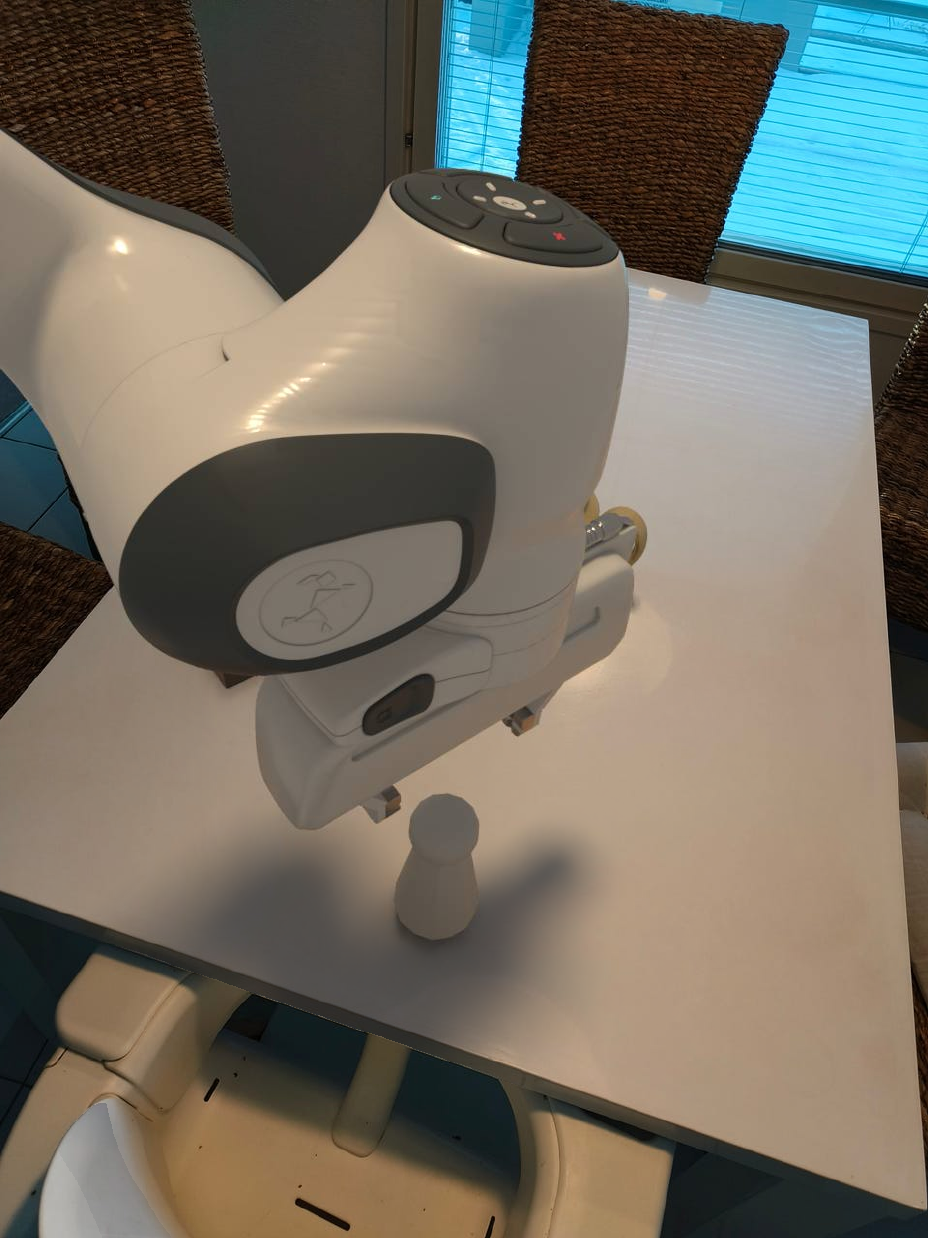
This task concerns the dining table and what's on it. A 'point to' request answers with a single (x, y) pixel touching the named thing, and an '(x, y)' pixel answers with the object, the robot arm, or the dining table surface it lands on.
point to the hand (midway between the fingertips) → (452, 763)
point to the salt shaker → (439, 868)
